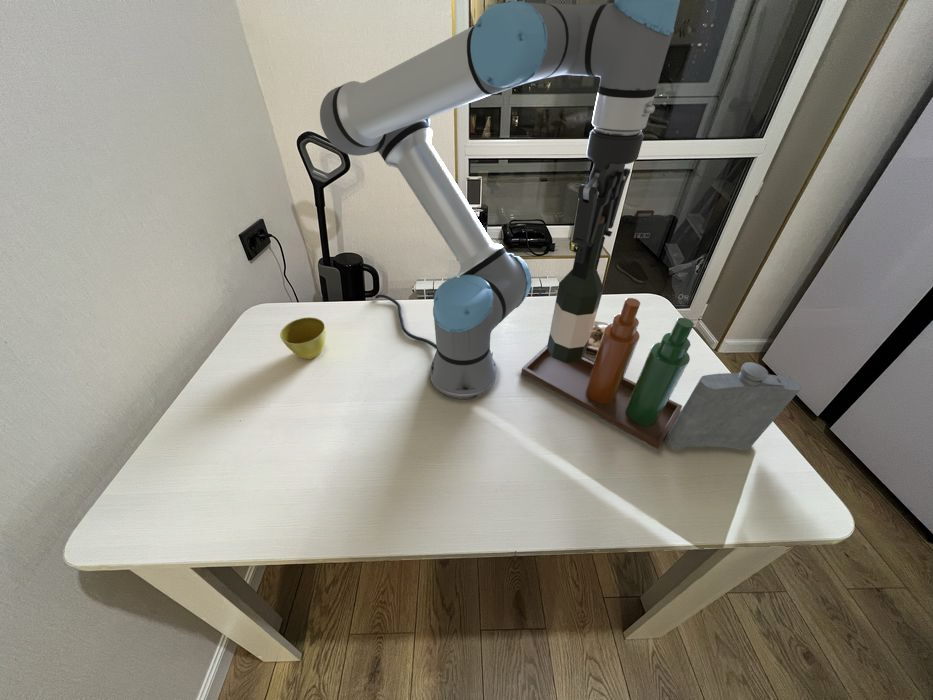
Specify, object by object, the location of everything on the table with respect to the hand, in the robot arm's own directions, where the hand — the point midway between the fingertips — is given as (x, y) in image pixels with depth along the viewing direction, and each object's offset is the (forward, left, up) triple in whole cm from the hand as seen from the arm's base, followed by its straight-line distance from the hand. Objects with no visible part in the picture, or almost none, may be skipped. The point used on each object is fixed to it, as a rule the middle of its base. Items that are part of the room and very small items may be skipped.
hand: (584, 272), depth 70 cm
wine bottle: (0, 0, -20) cm, 20 cm away
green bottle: (+19, 0, -26) cm, 32 cm away
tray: (+9, 0, -27) cm, 29 cm away
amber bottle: (+10, 0, -26) cm, 28 cm away
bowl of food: (+1, +16, -27) cm, 32 cm away
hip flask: (+31, +2, -27) cm, 41 cm away
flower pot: (-51, -34, -27) cm, 67 cm away
